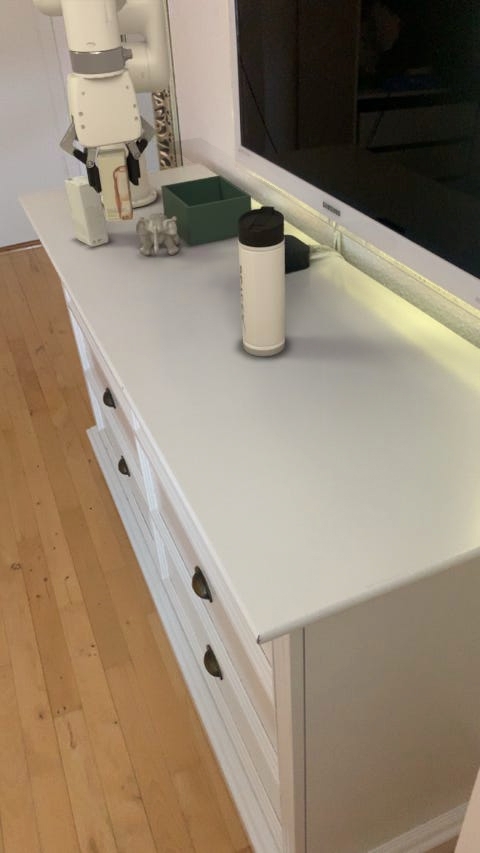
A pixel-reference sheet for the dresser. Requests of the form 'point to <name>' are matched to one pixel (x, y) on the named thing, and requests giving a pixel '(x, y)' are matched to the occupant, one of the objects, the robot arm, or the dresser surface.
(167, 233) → the gray elephant figurine
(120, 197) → the cream printed box
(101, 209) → the cosmetic box
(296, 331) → the dresser surface
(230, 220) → the bin
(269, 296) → the travel mug
